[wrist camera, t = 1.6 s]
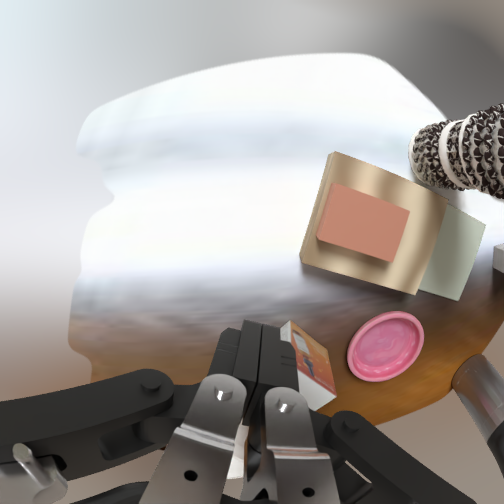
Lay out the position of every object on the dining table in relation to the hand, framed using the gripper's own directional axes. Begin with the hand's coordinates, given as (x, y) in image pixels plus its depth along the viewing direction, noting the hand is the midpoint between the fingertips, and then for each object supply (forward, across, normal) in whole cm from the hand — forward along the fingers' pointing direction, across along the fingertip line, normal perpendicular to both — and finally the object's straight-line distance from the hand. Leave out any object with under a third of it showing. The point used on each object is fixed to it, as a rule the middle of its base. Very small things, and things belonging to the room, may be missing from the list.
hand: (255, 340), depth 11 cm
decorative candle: (+24, -19, -16) cm, 35 cm away
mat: (+24, -27, -4) cm, 36 cm away
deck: (+24, -13, -4) cm, 28 cm away
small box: (+24, -8, +16) cm, 30 cm away
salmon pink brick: (+20, -10, -4) cm, 23 cm away
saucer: (+24, -22, +12) cm, 34 cm away
